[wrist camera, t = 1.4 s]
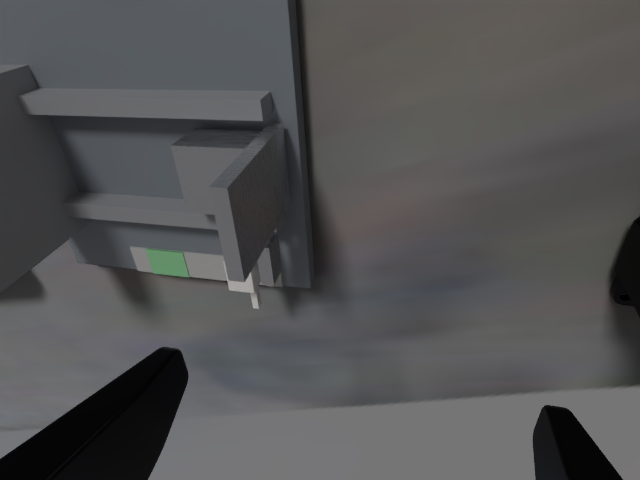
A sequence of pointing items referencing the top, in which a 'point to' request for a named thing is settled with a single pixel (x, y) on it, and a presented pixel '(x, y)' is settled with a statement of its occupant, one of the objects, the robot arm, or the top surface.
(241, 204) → the dark grey angled block
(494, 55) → the top surface
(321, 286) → the top surface
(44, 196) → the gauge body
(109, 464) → the robot arm
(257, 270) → the stamp-shaped block
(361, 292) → the top surface
